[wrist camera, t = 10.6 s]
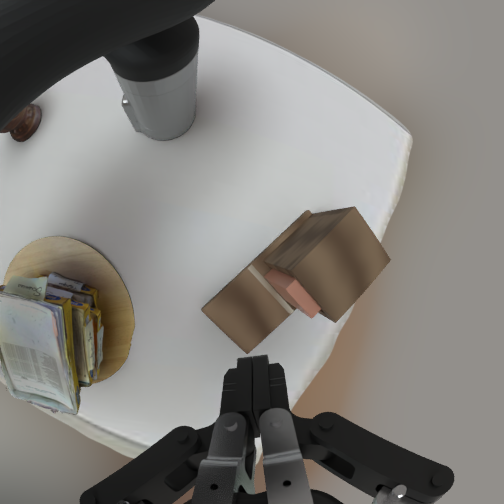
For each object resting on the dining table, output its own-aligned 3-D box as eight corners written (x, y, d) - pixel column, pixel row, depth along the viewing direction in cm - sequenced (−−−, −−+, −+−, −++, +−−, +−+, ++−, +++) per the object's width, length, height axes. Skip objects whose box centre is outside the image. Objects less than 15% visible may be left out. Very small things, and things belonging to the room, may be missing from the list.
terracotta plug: (285, 300, 41) (311, 318, 31) (263, 276, 40) (285, 289, 30) (308, 277, 41) (340, 288, 31) (288, 253, 40) (316, 258, 31)
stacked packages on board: (155, 274, 38) (129, 300, 22) (116, 402, 38) (92, 465, 21) (31, 215, 33) (-33, 207, 17) (8, 341, 33) (-42, 374, 16)
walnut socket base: (245, 351, 42) (266, 394, 28) (201, 308, 40) (204, 341, 27) (342, 257, 44) (393, 264, 31) (305, 210, 42) (350, 200, 29)
